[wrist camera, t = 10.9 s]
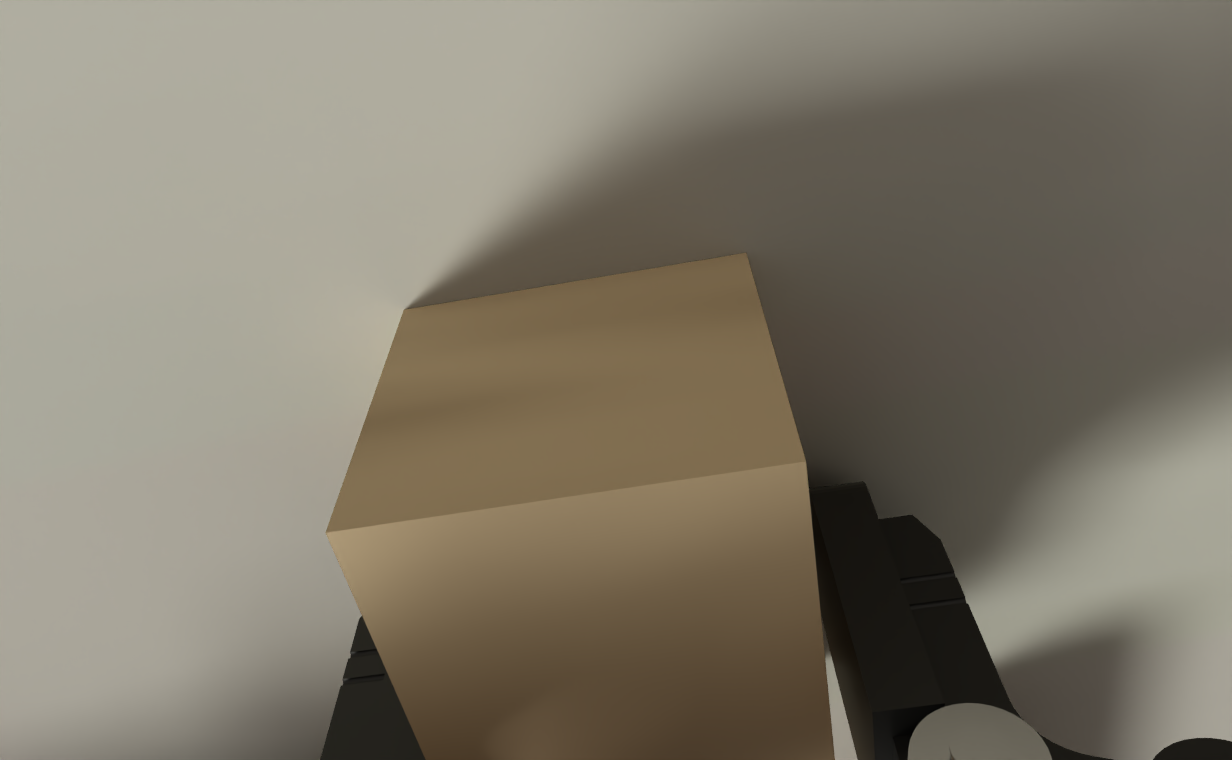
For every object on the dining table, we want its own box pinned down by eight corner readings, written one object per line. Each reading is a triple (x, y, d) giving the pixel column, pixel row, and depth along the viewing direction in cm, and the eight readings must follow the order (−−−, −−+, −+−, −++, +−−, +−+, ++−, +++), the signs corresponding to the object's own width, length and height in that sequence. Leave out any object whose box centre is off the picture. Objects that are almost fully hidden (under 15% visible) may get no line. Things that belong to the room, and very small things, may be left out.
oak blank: (794, 666, 15) (851, 932, 12) (536, 700, 15) (518, 967, 12) (745, 249, 11) (806, 461, 8) (405, 306, 12) (325, 532, 8)
